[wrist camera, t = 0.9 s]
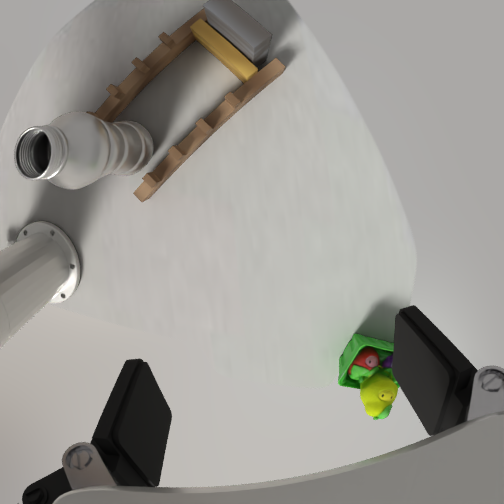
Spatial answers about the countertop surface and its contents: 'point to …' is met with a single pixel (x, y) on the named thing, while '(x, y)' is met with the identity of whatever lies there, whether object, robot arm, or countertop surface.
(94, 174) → the grey bulging hollow cylinder
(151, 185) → the wooden peg rack
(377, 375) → the fruit basket
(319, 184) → the countertop surface
